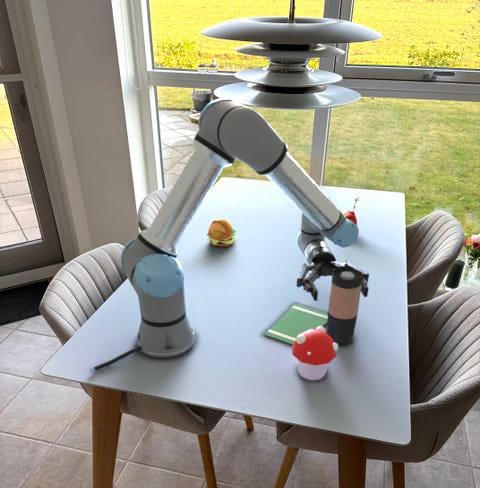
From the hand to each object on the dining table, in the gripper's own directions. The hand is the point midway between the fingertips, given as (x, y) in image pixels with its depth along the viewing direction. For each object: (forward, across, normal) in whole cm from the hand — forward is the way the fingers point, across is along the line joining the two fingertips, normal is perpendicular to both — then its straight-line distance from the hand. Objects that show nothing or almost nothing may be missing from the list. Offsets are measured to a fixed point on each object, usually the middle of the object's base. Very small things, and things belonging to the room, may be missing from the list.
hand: (341, 294), depth 133 cm
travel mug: (+2, 0, -13) cm, 13 cm away
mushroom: (+15, +11, -13) cm, 23 cm away
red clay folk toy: (-63, -23, -13) cm, 69 cm away
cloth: (-6, +9, -13) cm, 17 cm away
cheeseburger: (-63, +25, -13) cm, 69 cm away
